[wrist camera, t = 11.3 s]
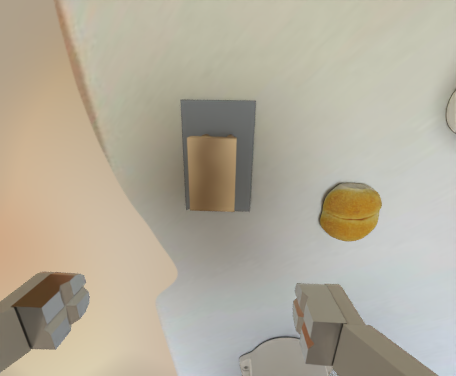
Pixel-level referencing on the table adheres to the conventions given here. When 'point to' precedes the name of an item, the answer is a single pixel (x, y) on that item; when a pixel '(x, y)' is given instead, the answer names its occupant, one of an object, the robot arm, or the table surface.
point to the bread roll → (350, 211)
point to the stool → (212, 172)
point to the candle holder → (452, 112)
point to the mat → (222, 127)
